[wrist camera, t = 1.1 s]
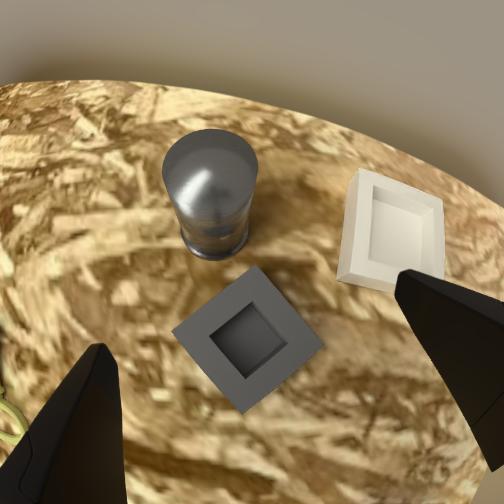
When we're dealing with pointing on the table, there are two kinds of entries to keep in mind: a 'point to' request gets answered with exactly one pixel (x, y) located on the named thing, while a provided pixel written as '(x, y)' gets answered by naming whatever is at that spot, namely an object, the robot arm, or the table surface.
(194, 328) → the block
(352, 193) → the tray
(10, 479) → the robot arm
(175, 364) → the table surface
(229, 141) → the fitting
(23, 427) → the key
